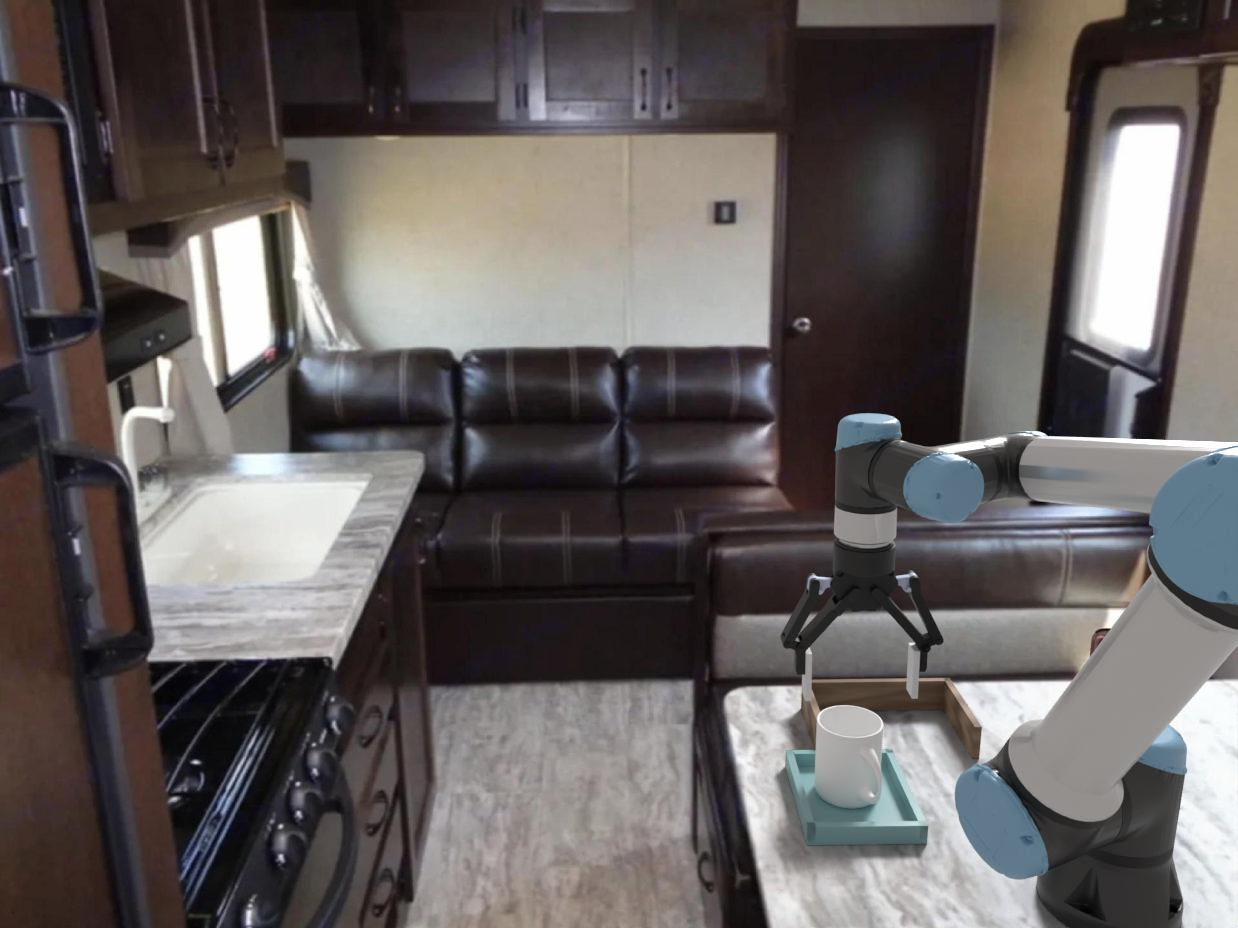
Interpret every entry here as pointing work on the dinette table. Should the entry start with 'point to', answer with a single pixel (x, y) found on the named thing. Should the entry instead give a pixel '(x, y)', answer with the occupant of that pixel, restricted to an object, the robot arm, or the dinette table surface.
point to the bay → (894, 702)
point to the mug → (848, 756)
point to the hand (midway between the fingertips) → (859, 695)
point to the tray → (872, 824)
